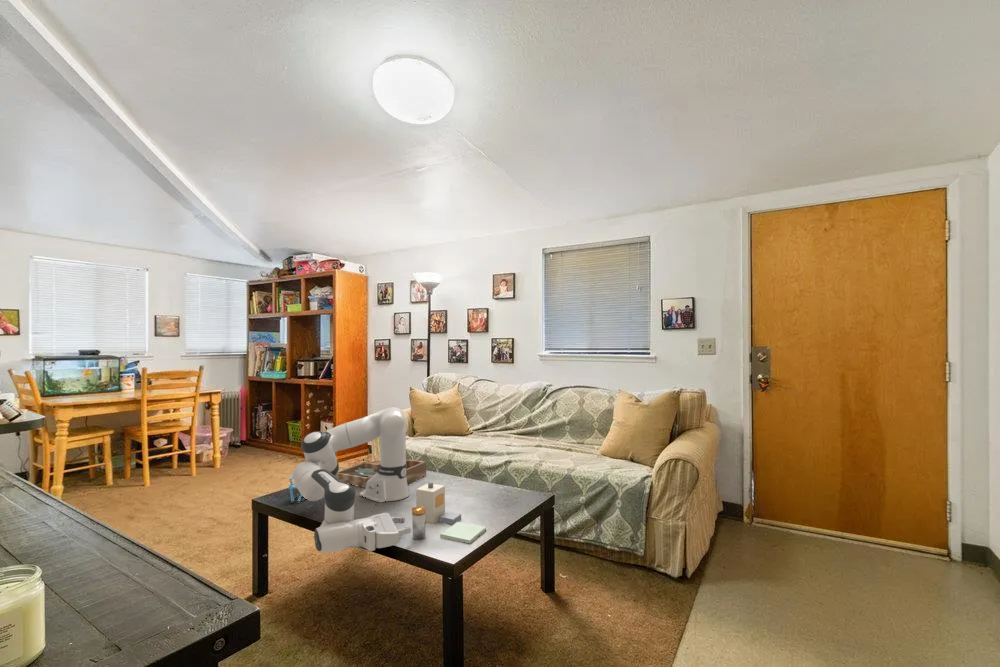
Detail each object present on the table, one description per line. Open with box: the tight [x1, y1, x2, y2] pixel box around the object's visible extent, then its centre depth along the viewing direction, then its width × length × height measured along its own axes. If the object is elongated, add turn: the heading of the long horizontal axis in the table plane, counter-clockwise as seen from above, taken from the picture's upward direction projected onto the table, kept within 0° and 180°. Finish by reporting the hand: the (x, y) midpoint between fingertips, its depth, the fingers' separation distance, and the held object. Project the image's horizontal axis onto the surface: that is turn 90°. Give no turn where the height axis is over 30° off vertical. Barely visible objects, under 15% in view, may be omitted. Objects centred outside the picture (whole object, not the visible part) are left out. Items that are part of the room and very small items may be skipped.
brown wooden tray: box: [335, 462, 381, 488], centre depth 229 cm, size 21×21×4 cm
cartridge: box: [411, 506, 426, 541], centre depth 161 cm, size 5×5×10 cm
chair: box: [287, 474, 302, 502], centre depth 198 cm, size 8×8×12 cm
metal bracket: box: [355, 468, 377, 477], centre depth 231 cm, size 14×6×15 cm
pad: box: [439, 521, 487, 544], centre depth 163 cm, size 12×12×1 cm
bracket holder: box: [406, 459, 427, 485], centre depth 227 cm, size 11×18×7 cm, turn 154°
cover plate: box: [439, 511, 462, 526], centre depth 175 cm, size 6×6×2 cm
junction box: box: [415, 482, 446, 524], centre depth 177 cm, size 8×8×14 cm
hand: (407, 524), depth 158 cm, fingers open, 8 cm apart
